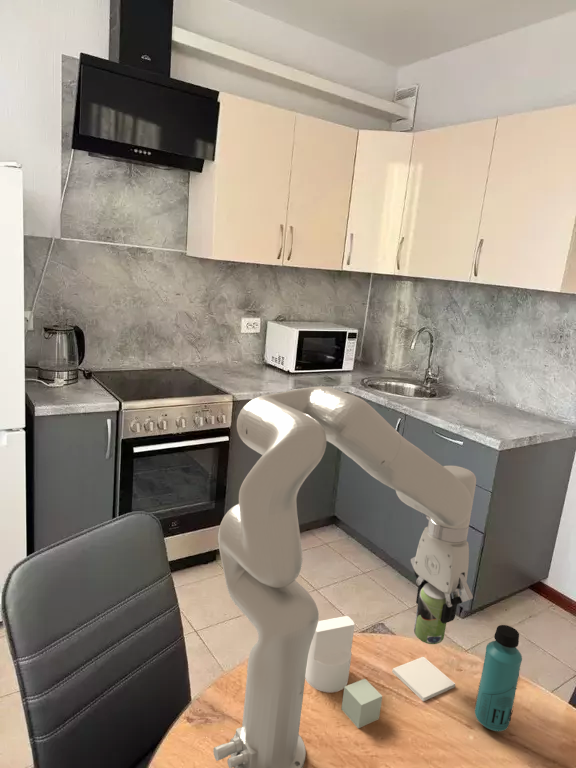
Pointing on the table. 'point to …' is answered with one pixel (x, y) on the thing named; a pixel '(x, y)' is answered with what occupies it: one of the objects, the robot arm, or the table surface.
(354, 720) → the sage block
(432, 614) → the beverage can
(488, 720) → the beverage bottle
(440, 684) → the coaster
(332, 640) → the cylinder with rectangular tab
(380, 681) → the table surface
